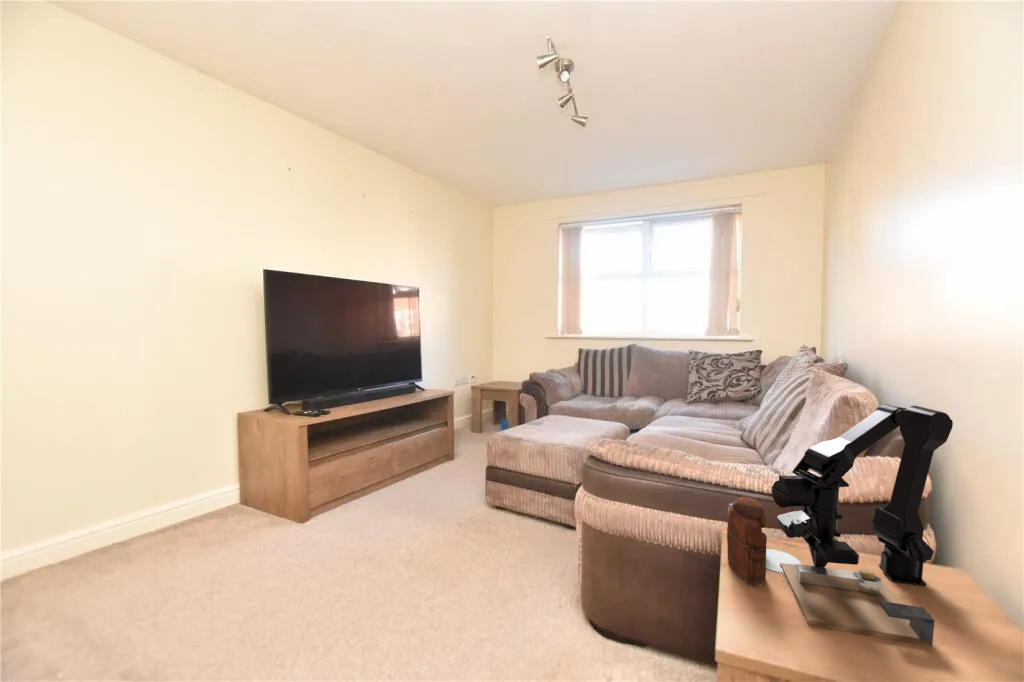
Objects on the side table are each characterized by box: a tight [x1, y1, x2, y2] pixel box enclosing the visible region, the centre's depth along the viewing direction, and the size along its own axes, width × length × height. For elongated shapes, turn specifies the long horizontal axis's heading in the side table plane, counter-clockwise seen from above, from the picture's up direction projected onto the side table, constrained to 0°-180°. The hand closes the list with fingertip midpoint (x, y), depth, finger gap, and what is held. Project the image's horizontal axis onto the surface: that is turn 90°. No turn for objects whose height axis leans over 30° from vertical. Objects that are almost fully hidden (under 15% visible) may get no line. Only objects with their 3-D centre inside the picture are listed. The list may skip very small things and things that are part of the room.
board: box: [779, 562, 934, 648], centre depth 96 cm, size 20×20×5 cm
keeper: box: [880, 601, 935, 647], centre depth 86 cm, size 7×4×5 cm, turn 73°
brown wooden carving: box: [726, 496, 768, 587], centre depth 106 cm, size 12×6×18 cm, turn 4°
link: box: [795, 563, 881, 596], centre depth 100 cm, size 15×5×3 cm, turn 74°
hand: (818, 570), depth 103 cm, fingers closed
